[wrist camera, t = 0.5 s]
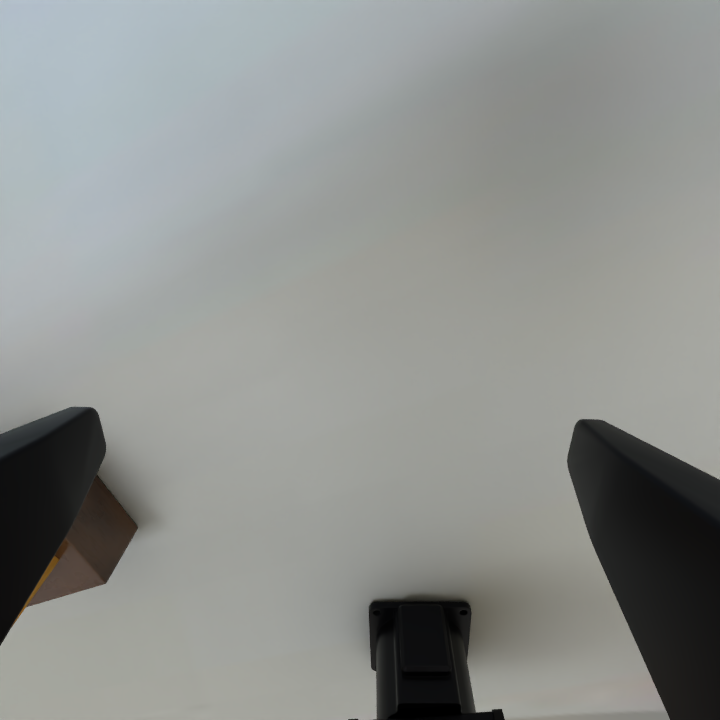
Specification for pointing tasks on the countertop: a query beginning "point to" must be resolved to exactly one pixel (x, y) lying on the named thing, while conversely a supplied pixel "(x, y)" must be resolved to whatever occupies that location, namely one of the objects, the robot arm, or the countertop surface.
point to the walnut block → (89, 546)
